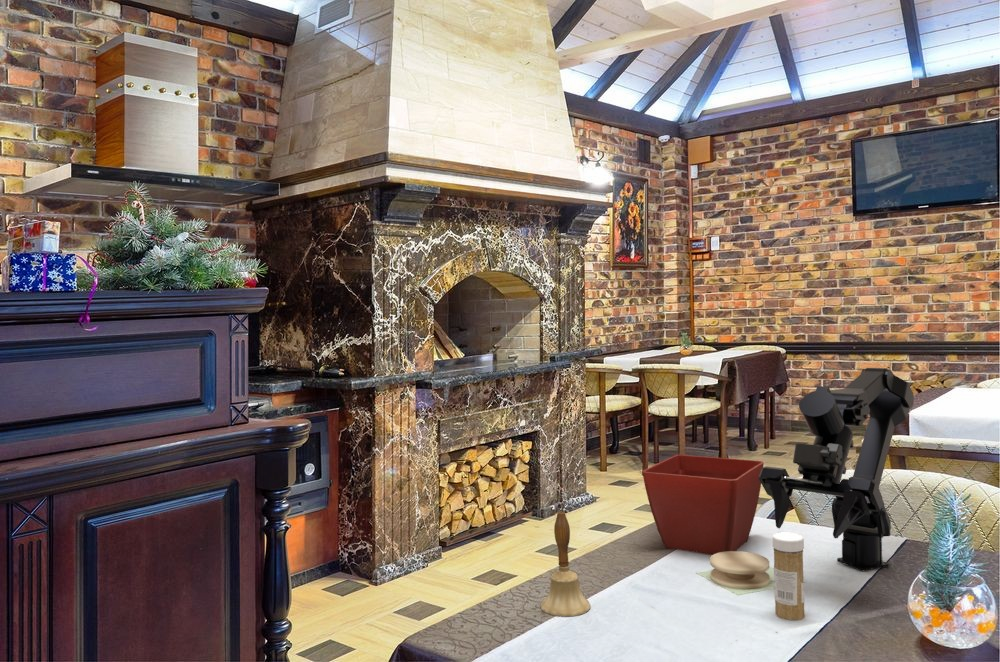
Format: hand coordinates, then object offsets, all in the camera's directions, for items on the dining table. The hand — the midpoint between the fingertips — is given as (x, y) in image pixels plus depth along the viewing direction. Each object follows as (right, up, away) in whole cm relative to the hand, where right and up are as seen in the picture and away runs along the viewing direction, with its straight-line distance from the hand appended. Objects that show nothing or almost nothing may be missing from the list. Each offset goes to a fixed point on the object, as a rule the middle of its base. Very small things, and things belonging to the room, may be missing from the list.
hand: (805, 531), depth 127 cm
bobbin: (-7, -11, +11) cm, 18 cm away
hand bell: (-38, -14, +4) cm, 41 cm away
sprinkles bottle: (-4, -13, -5) cm, 14 cm away
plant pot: (-8, -12, +33) cm, 36 cm away
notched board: (-5, -12, +12) cm, 18 cm away
